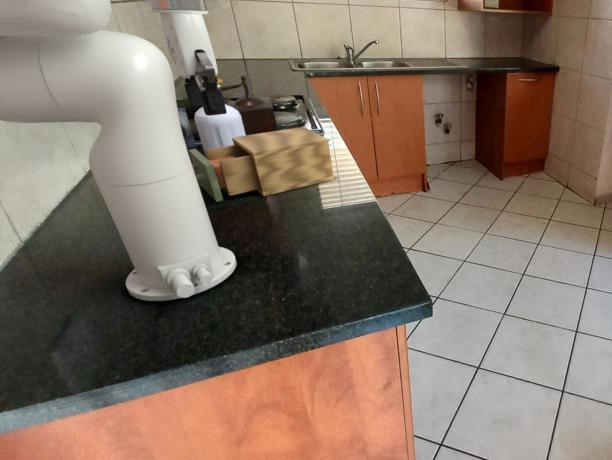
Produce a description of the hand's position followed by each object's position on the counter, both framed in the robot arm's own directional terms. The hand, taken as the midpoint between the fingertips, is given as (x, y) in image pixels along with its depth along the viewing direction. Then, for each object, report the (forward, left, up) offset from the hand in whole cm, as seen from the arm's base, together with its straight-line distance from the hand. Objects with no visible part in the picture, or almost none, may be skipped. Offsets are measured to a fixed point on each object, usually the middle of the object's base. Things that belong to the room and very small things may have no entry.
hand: (208, 109), depth 77 cm
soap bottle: (+24, -6, -17) cm, 29 cm away
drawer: (+1, 0, -16) cm, 16 cm away
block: (0, 0, -15) cm, 15 cm away
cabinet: (+1, -11, -17) cm, 20 cm away
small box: (+34, +4, -17) cm, 38 cm away
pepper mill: (+36, -14, -17) cm, 42 cm away
